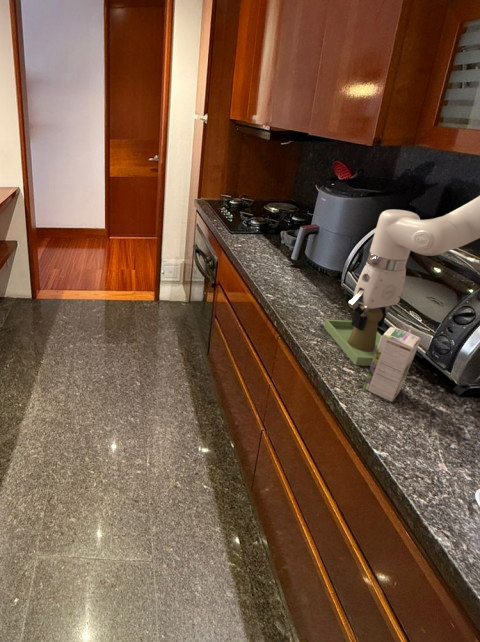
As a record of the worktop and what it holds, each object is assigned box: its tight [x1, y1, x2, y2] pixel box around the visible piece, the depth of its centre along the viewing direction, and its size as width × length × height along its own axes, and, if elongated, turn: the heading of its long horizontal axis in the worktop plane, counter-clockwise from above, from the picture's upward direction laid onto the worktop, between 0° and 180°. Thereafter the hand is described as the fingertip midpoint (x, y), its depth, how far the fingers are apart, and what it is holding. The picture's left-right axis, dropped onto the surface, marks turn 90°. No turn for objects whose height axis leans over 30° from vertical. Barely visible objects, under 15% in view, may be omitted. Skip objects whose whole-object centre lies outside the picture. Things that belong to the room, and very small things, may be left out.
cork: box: [348, 305, 383, 351], centre depth 100 cm, size 6×6×11 cm
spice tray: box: [323, 319, 383, 367], centre depth 102 cm, size 17×11×2 cm, turn 175°
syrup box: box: [362, 326, 422, 403], centre depth 84 cm, size 6×6×14 cm
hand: (366, 325), depth 100 cm, fingers closed on cork, 5 cm apart
